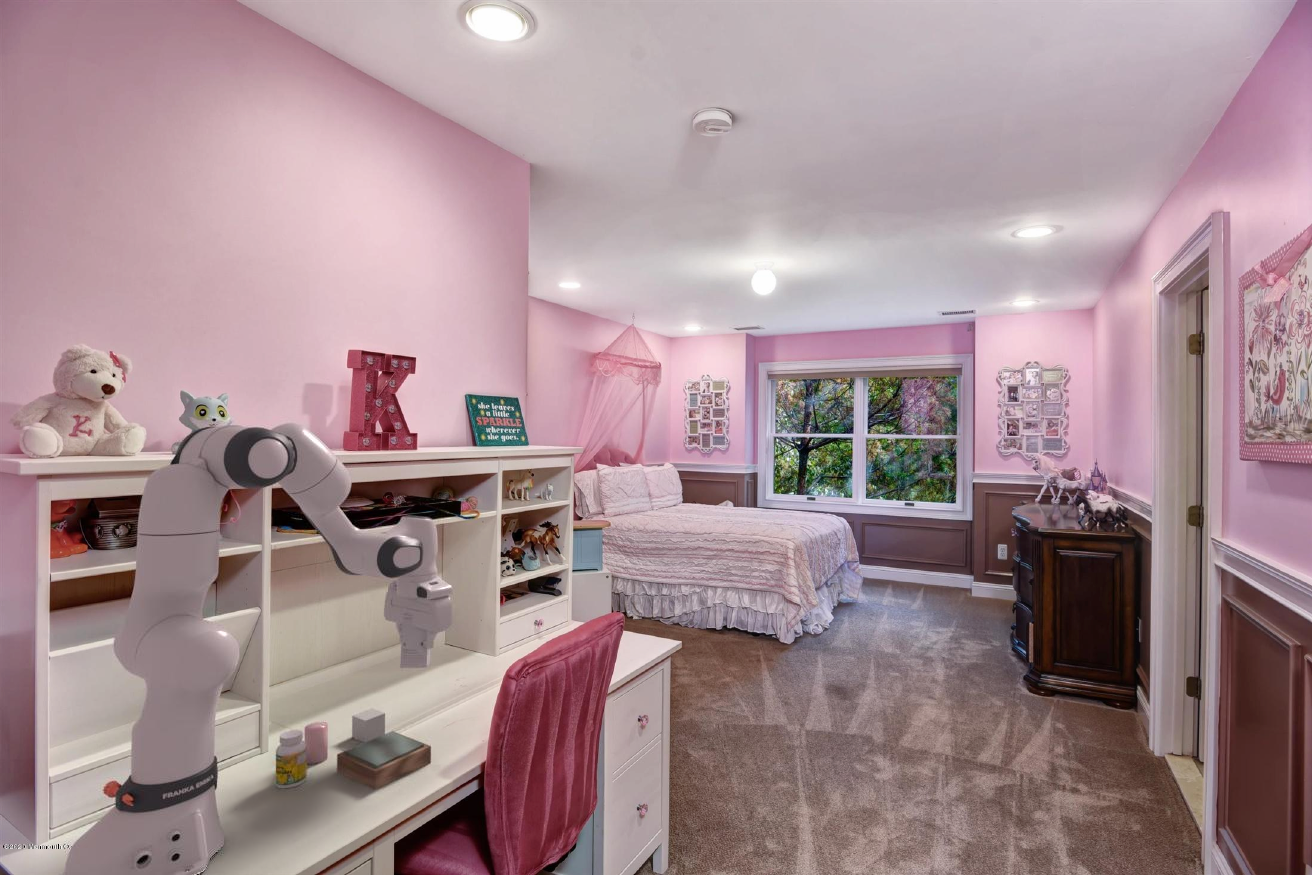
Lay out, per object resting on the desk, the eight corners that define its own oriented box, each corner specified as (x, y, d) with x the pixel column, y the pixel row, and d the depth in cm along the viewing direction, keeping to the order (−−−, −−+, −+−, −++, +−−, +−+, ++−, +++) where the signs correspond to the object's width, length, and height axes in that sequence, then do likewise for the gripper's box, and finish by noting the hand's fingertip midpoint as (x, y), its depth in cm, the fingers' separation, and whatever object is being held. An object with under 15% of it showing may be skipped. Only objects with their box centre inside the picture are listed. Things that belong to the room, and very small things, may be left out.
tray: (375, 789, 128) (375, 768, 128) (336, 771, 135) (337, 751, 135) (430, 762, 139) (430, 743, 139) (392, 746, 146) (392, 728, 146)
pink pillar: (313, 765, 137) (313, 731, 137) (299, 761, 139) (300, 727, 139) (332, 756, 141) (332, 723, 141) (318, 752, 143) (319, 720, 143)
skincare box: (399, 668, 149) (400, 615, 149) (404, 662, 154) (405, 610, 154) (427, 667, 150) (428, 614, 150) (431, 661, 154) (432, 609, 154)
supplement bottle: (312, 776, 133) (313, 729, 133) (292, 790, 127) (293, 741, 127) (289, 774, 134) (289, 726, 134) (268, 787, 128) (269, 738, 129)
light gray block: (365, 742, 148) (365, 720, 148) (352, 737, 151) (352, 715, 151) (384, 734, 152) (385, 713, 152) (371, 729, 155) (371, 708, 155)
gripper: (377, 581, 155) (376, 640, 155) (434, 593, 144) (433, 656, 144) (400, 577, 160) (399, 634, 160) (457, 587, 149) (456, 649, 149)
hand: (416, 644), depth 152 cm, fingers closed on skincare box, 7 cm apart
